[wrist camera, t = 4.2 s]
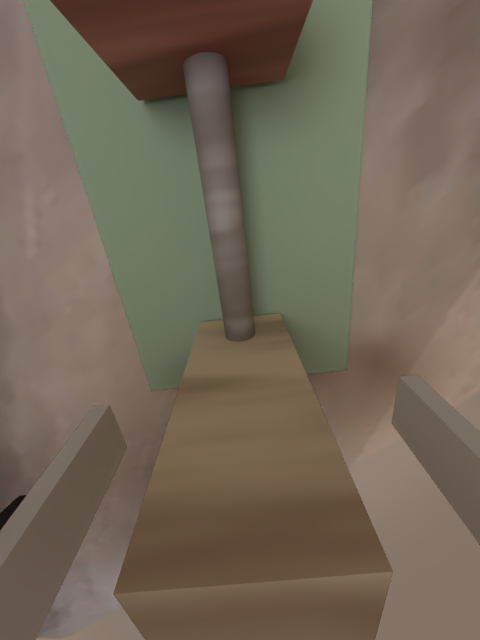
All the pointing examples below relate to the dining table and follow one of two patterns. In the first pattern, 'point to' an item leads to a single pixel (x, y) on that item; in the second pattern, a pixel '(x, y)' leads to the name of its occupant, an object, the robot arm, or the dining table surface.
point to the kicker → (236, 379)
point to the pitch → (255, 185)
